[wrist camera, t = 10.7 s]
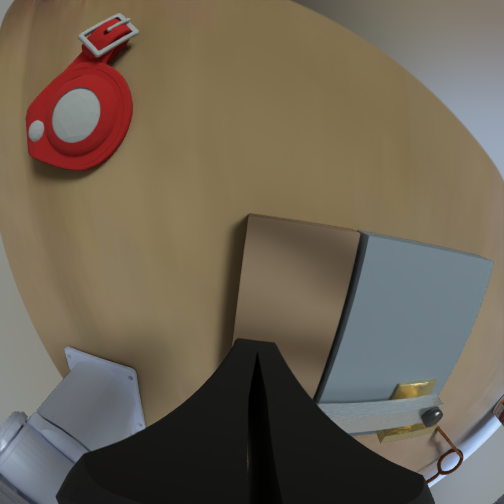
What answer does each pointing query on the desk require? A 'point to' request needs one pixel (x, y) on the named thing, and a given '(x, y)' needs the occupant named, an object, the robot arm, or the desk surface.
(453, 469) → the glasses
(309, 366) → the jamb board
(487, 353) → the desk surface
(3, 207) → the desk surface
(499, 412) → the pill bottle
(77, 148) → the tracker holder
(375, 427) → the bar
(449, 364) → the door panel
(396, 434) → the brass keeper
